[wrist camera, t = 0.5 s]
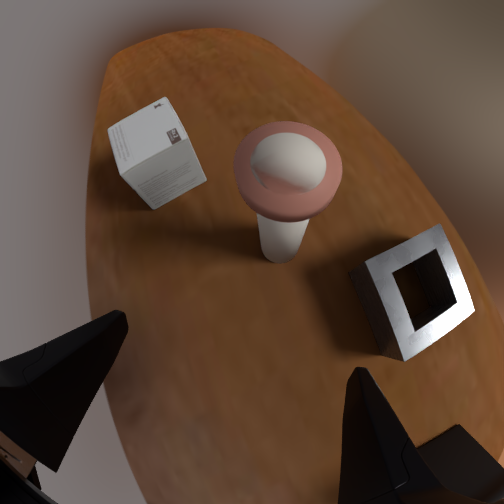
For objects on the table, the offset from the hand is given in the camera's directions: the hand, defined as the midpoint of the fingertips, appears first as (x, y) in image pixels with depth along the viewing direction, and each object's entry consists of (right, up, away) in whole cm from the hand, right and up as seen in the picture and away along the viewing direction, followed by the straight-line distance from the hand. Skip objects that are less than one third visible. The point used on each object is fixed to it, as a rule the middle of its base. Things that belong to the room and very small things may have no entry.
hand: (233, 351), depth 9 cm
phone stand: (+20, -19, +7) cm, 29 cm away
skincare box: (-7, +11, +17) cm, 22 cm away
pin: (+3, +4, +14) cm, 15 cm away
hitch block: (+14, 0, +12) cm, 19 cm away
